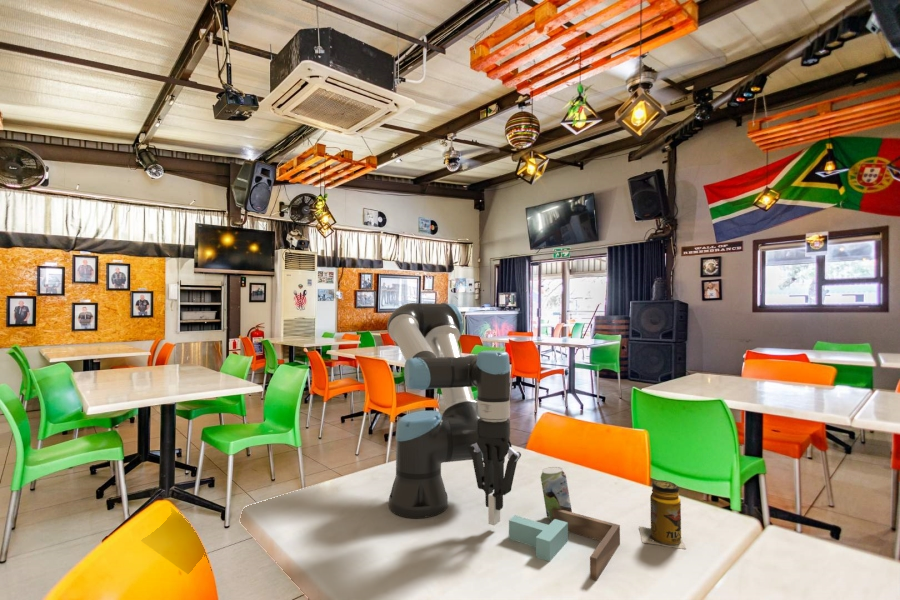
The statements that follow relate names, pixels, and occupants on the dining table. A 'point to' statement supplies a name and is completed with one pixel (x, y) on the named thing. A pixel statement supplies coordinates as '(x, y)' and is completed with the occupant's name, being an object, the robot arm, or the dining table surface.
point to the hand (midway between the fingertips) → (494, 522)
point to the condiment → (664, 516)
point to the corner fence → (593, 537)
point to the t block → (540, 535)
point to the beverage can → (555, 490)
